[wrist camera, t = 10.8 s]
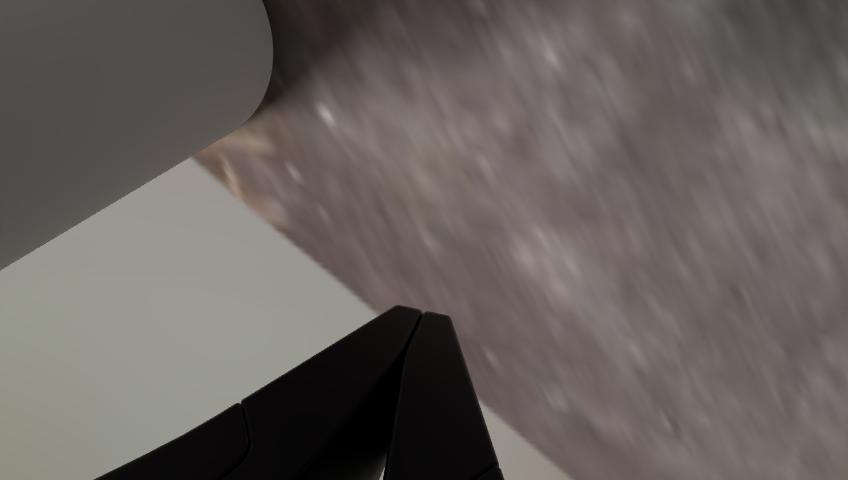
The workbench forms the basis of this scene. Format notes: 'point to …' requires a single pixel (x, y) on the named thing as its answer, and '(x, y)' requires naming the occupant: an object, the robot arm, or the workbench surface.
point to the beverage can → (115, 100)
